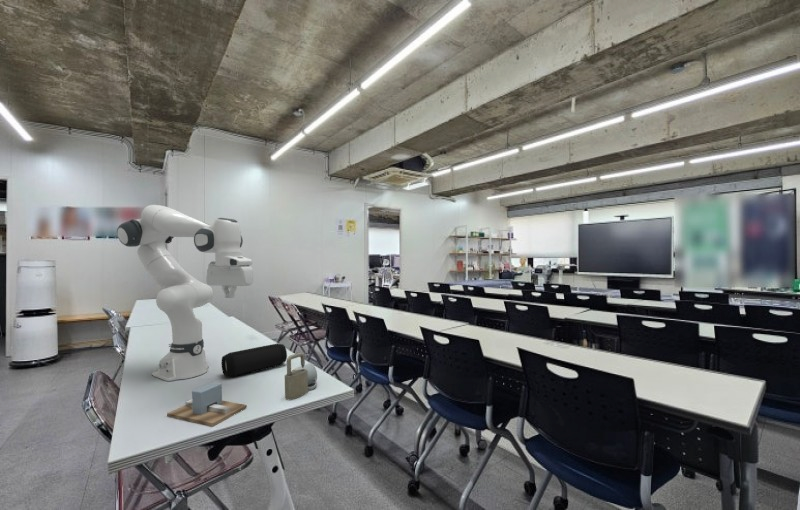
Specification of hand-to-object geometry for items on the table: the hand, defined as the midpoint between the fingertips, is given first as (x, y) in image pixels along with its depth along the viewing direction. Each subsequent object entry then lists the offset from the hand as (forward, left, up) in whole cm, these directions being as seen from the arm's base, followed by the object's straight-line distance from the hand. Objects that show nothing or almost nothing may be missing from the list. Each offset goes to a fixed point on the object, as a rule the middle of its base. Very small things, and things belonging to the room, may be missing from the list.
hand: (229, 297), depth 130 cm
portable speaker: (-9, +21, -36) cm, 42 cm away
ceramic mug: (+24, +13, -35) cm, 45 cm away
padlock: (+26, +5, -35) cm, 44 cm away
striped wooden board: (+7, -16, -35) cm, 39 cm away
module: (+7, -16, -34) cm, 38 cm away
